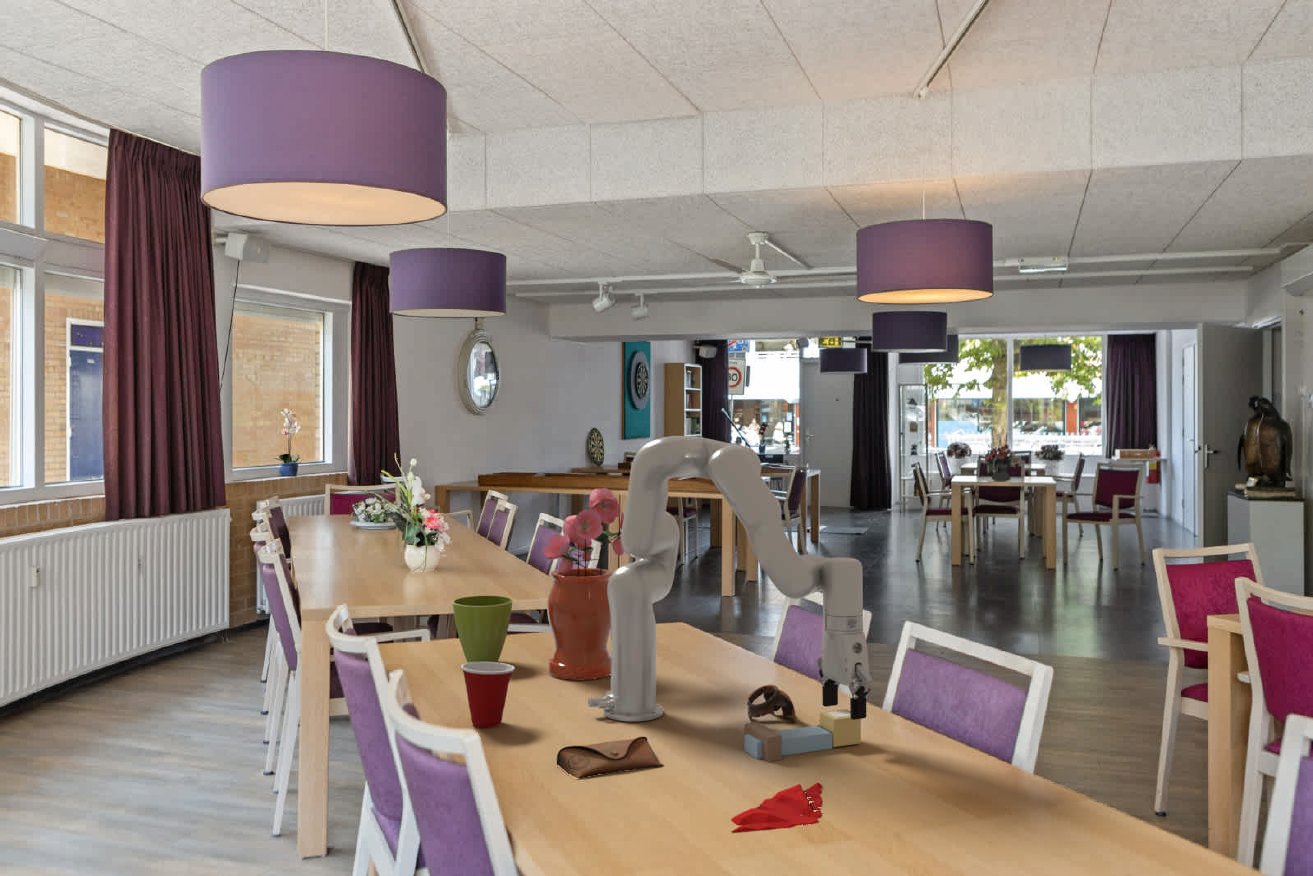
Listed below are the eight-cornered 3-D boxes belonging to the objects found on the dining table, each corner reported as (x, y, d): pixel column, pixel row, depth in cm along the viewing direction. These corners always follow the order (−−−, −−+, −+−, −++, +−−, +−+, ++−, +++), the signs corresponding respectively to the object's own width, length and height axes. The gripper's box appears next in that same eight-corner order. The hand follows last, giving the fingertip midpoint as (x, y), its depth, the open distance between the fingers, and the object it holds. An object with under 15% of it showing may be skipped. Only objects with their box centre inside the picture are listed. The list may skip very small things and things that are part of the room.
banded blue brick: (762, 762, 182) (762, 738, 182) (739, 747, 190) (739, 724, 190) (838, 752, 188) (838, 728, 188) (812, 737, 196) (813, 715, 196)
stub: (833, 747, 190) (833, 719, 190) (819, 739, 194) (819, 712, 194) (860, 743, 192) (860, 715, 192) (846, 735, 197) (846, 708, 197)
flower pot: (484, 674, 243) (485, 608, 243) (439, 665, 251) (439, 601, 251) (524, 661, 256) (524, 599, 256) (480, 654, 264) (480, 593, 264)
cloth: (754, 850, 146) (754, 834, 146) (693, 820, 157) (693, 805, 157) (871, 808, 162) (871, 794, 162) (808, 784, 173) (808, 771, 173)
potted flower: (652, 672, 246) (653, 488, 245) (567, 689, 230) (568, 492, 229) (605, 658, 261) (607, 484, 260) (522, 673, 244) (523, 488, 244)
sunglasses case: (573, 780, 171) (566, 741, 174) (560, 790, 177) (554, 751, 180) (667, 765, 180) (659, 728, 183) (652, 775, 185) (644, 738, 188)
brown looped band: (802, 730, 203) (784, 697, 201) (759, 748, 204) (741, 715, 203) (797, 699, 214) (780, 667, 213) (757, 716, 216) (740, 685, 214)
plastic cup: (525, 723, 204) (525, 664, 204) (482, 735, 196) (482, 674, 196) (492, 712, 211) (492, 655, 211) (449, 723, 203) (449, 664, 203)
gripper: (886, 629, 186) (887, 721, 186) (835, 614, 202) (836, 698, 202) (851, 632, 183) (852, 726, 183) (802, 617, 199) (803, 703, 199)
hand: (844, 712), depth 193 cm, fingers open, 9 cm apart
